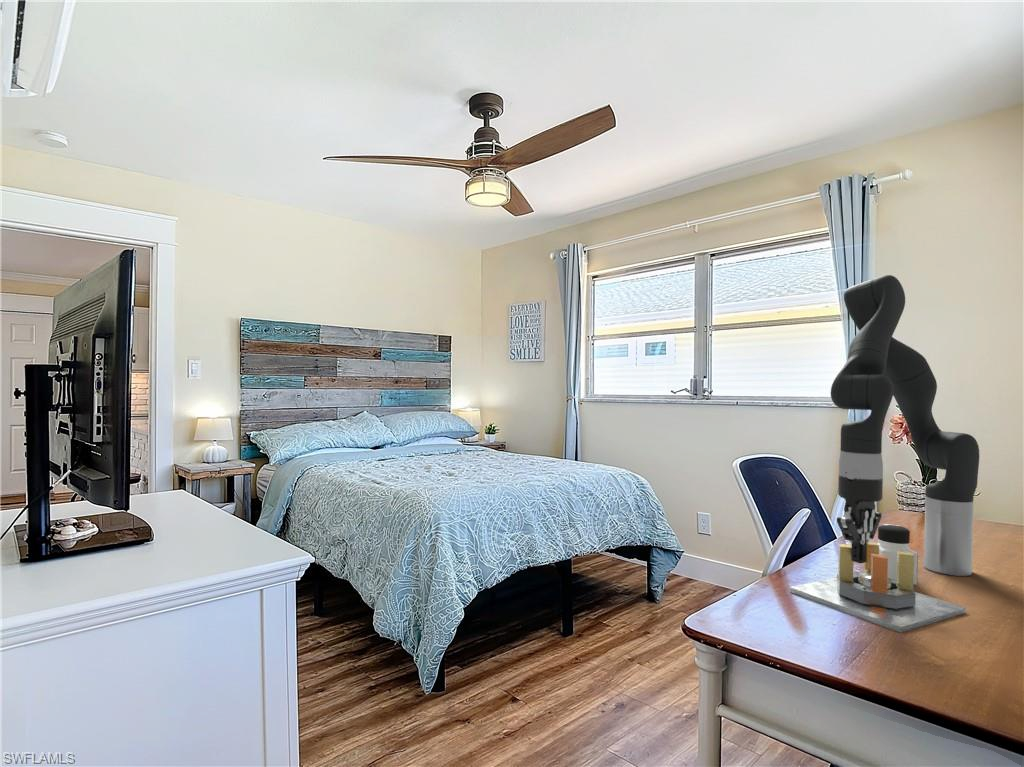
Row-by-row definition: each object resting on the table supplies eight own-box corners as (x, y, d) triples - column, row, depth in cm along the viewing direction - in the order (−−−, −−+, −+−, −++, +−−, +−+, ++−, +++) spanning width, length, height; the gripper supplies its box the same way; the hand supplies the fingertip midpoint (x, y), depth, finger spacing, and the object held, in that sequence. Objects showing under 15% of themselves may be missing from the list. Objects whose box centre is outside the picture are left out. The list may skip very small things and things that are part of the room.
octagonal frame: (823, 587, 120) (824, 543, 120) (867, 581, 125) (868, 539, 125) (881, 610, 108) (882, 561, 108) (928, 603, 112) (929, 555, 113)
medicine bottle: (917, 585, 127) (918, 531, 127) (882, 582, 128) (883, 528, 128) (902, 575, 134) (903, 523, 134) (869, 572, 135) (870, 521, 135)
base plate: (853, 577, 131) (854, 555, 131) (965, 612, 112) (966, 586, 112) (789, 591, 121) (790, 568, 121) (900, 632, 101) (901, 604, 101)
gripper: (857, 470, 121) (856, 552, 121) (823, 474, 114) (821, 561, 114) (897, 475, 115) (895, 562, 115) (862, 480, 108) (861, 572, 108)
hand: (858, 561), depth 114 cm, fingers closed
